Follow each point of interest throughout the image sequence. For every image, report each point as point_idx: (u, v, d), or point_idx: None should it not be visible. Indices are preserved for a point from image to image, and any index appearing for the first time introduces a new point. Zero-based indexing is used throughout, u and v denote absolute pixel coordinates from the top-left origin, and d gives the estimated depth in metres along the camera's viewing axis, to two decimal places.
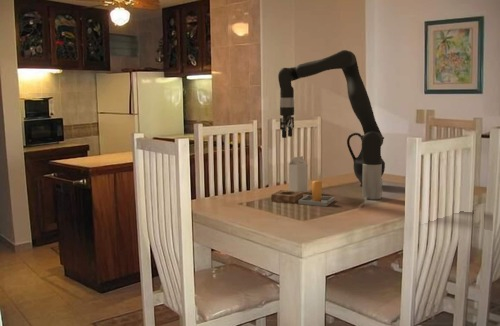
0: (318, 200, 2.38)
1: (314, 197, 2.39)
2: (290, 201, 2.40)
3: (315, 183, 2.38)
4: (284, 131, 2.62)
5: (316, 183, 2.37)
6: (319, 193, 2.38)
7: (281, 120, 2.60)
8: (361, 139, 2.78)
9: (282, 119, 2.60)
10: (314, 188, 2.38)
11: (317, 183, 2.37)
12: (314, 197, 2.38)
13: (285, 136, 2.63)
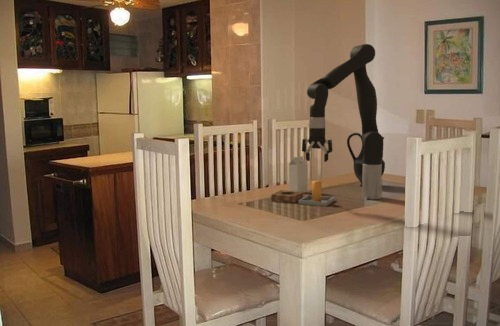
0: (318, 200, 2.38)
1: (314, 197, 2.39)
2: (290, 201, 2.40)
3: (315, 183, 2.38)
4: None
5: (316, 183, 2.37)
6: (319, 193, 2.38)
7: (331, 142, 2.34)
8: (361, 139, 2.78)
9: (331, 141, 2.34)
10: (314, 188, 2.38)
11: (317, 183, 2.37)
12: (314, 197, 2.38)
13: (326, 159, 2.37)
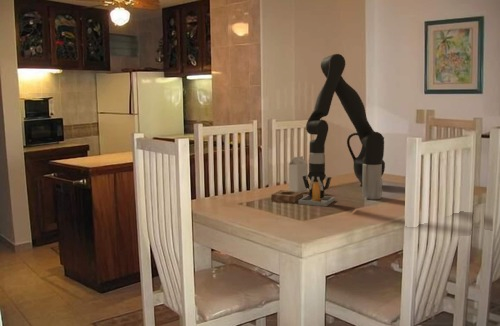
0: (318, 200, 2.38)
1: (314, 197, 2.39)
2: (290, 201, 2.40)
3: (315, 183, 2.38)
4: None
5: (316, 183, 2.37)
6: (319, 193, 2.38)
7: (329, 180, 2.36)
8: None
9: (330, 179, 2.36)
10: (314, 188, 2.38)
11: (317, 183, 2.37)
12: (314, 197, 2.38)
13: None
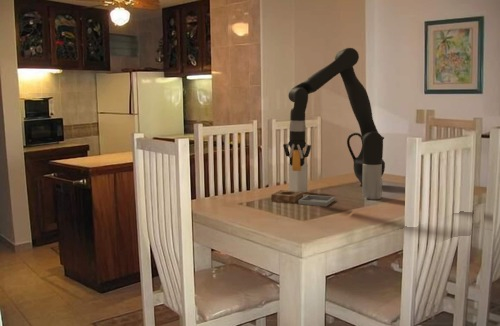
0: (298, 168, 2.40)
1: (294, 165, 2.40)
2: (290, 201, 2.40)
3: (295, 151, 2.39)
4: (304, 158, 2.41)
5: (296, 151, 2.39)
6: (299, 161, 2.40)
7: (309, 148, 2.38)
8: (361, 139, 2.78)
9: (310, 147, 2.38)
10: (294, 156, 2.40)
11: (297, 151, 2.39)
12: (294, 165, 2.40)
13: None
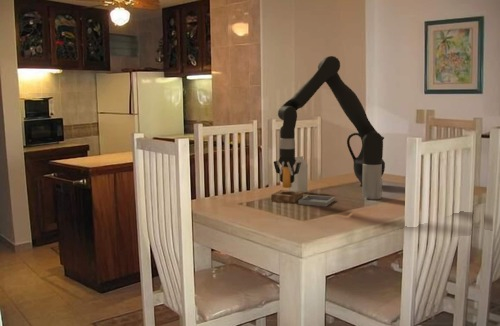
0: (288, 185, 2.44)
1: (284, 182, 2.44)
2: (290, 201, 2.40)
3: (285, 168, 2.43)
4: (294, 175, 2.45)
5: (286, 168, 2.43)
6: (289, 178, 2.44)
7: (299, 165, 2.42)
8: (361, 139, 2.78)
9: (300, 164, 2.42)
10: (284, 173, 2.44)
11: (287, 168, 2.43)
12: (285, 181, 2.44)
13: None
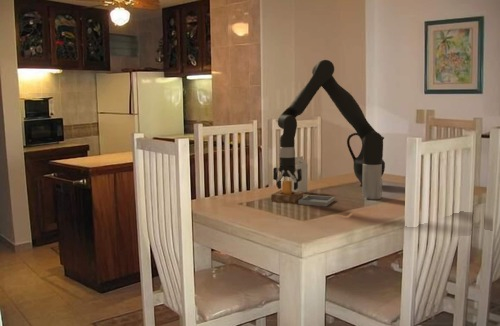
0: None
1: None
2: (290, 201, 2.40)
3: (285, 183, 2.44)
4: (297, 182, 2.44)
5: (286, 183, 2.44)
6: (289, 192, 2.45)
7: (300, 171, 2.42)
8: None
9: (300, 170, 2.42)
10: (284, 187, 2.45)
11: (287, 182, 2.44)
12: None
13: (296, 187, 2.45)
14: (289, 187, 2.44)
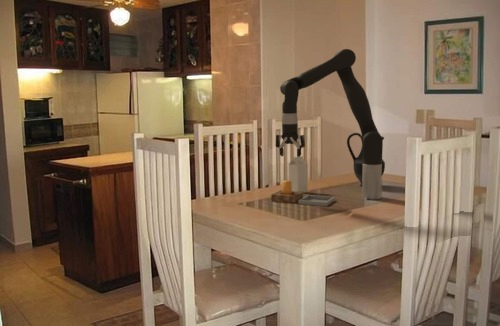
0: None
1: None
2: (290, 201, 2.40)
3: (285, 183, 2.44)
4: None
5: (286, 183, 2.44)
6: (289, 192, 2.45)
7: (303, 137, 2.40)
8: (361, 139, 2.78)
9: (303, 136, 2.41)
10: (284, 188, 2.45)
11: (287, 182, 2.44)
12: None
13: (299, 154, 2.43)
14: (289, 187, 2.44)
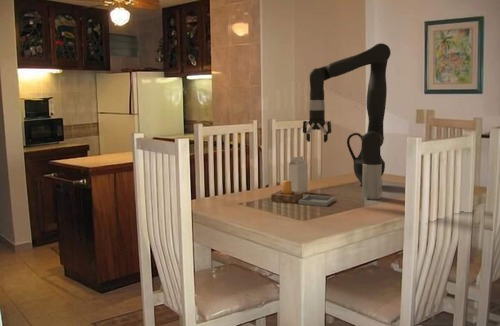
0: None
1: None
2: (290, 201, 2.40)
3: (285, 183, 2.44)
4: (327, 135, 2.50)
5: (286, 183, 2.44)
6: (289, 192, 2.45)
7: (330, 123, 2.48)
8: (361, 139, 2.78)
9: (330, 122, 2.48)
10: (284, 187, 2.45)
11: (287, 182, 2.44)
12: None
13: None
14: (289, 187, 2.44)
